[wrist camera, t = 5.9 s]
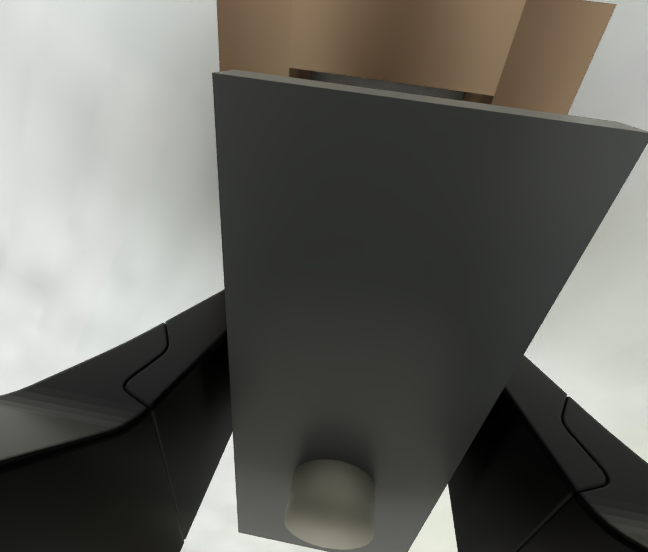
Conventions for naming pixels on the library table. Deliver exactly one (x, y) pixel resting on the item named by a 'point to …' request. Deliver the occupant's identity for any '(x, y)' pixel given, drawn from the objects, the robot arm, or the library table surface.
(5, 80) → the library table surface
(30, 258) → the library table surface
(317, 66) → the pocket plate
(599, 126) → the block
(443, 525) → the library table surface
